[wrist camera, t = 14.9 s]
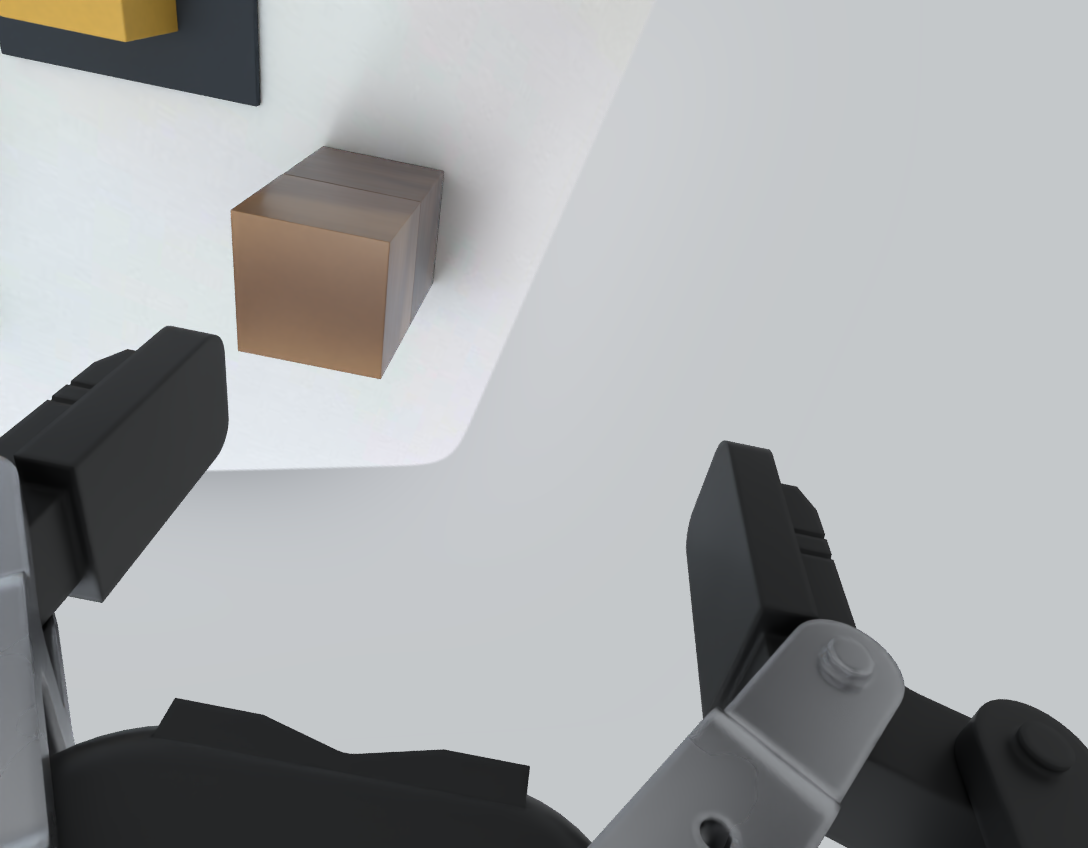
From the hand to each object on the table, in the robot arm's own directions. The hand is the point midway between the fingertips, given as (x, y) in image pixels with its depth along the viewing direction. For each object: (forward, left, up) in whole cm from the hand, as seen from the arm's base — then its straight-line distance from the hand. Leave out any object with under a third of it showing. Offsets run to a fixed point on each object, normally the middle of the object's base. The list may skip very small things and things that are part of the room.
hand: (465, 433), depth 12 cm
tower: (+9, -10, -33) cm, 36 cm away
